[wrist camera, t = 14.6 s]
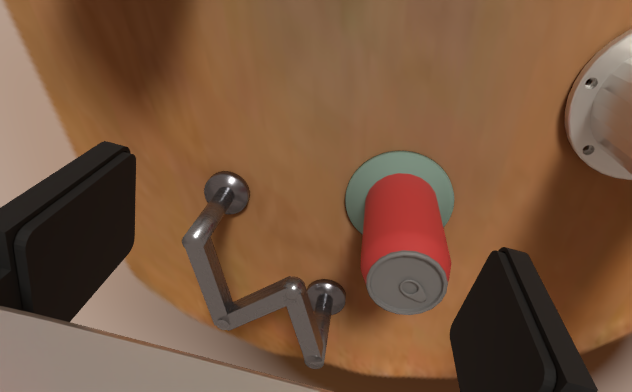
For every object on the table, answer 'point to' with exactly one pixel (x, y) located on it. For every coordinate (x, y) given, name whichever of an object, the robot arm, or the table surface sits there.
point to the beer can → (404, 245)
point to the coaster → (393, 165)
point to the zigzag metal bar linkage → (321, 295)
